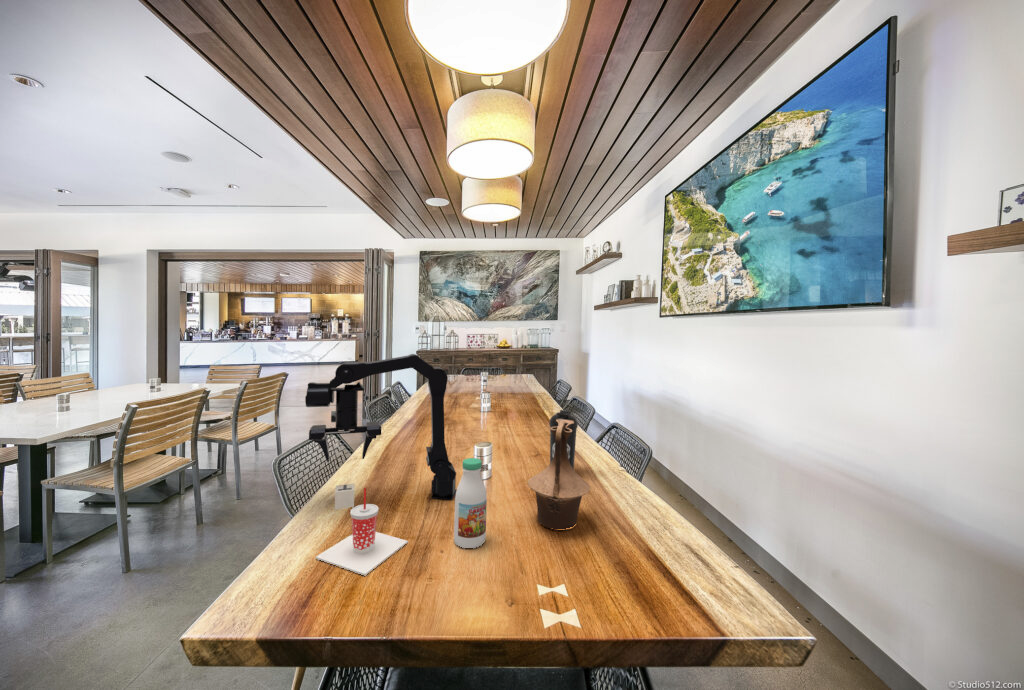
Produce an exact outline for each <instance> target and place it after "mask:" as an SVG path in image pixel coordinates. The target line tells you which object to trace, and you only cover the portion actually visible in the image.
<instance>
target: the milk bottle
mask: <svg viewBox="0 0 1024 690" xmlns="http://www.w3.org/2000/svg"><path fill="white" fill-rule="evenodd" d="M461 470H462V476H461V479H460V481H459V483H458V485H457V488H456V489H455V490H456V494H455V495H454V519H453V520H454V521H453V522H454V523H453V542H454V544H455V545H456V546H457V545H458V546H457V547H459V546H460V547H459V548H461V547H462V548H461V549H465V548H473V549H477V548H480V547H481V546H483V545H482V544H483V543H484V544H485V542H486V538H487V537H486V535H487V534H486V533H487V505H488V504H487V502H488V501H487V500H488V499H487V498H488V497H487V489H486V486H485V483H484V480H483V479H482V474H481V471H482V460H481V459H479V458H478V457H469V458H465V459H463V460H462V469H461ZM479 546H480V547H479ZM476 547H477V548H476Z"/></svg>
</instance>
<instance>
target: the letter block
mask: <svg viewBox="0 0 1024 690" xmlns="http://www.w3.org/2000/svg"><path fill="white" fill-rule="evenodd" d="M334 491H335V492H334V511H337V510H344V509H349V507H352V508H354V507H355V483H348V484H339V485H335V490H334ZM343 508H344V509H343Z"/></svg>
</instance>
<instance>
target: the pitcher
mask: <svg viewBox="0 0 1024 690" xmlns="http://www.w3.org/2000/svg"><path fill="white" fill-rule="evenodd" d="M556 422H557V423H558V426H556V427H551V432H552V433H553V435H554V437H555V454H554V457H553V460H552V461H551V463H550V462H549V464H548V465H547V467H546V468H544V469H542V470H541V471H540V472H539V473H537V474H535V475H534V476H531V477H530V478H529V479H528V480H527V486H528V488H529V489H530V490H532V491H534V492H535V497H536V498H535V500H536V510H537V518H536V519H538V520H537V522H538V524H540V523H541V524H542V525H544V526H546V527H548V528H553V529H566V528H570V527H573V526H574V525H575V524H576V523H577V524H578V515H579V511H580V506H581V501H582V497H583V496H584V495H587V494H588V493H589V492H590V490H591V485H590V484H589V483H588V482H587V481H586V480H584V479H583V478H582V477H581V476H580V475H579V474H578V473H577V472H576V471H575V469H574V470H573V468H572V466H571V464H570V462H569V459H568V453H567V439H568V438H569V436H570V434H571V433H572V430H571V429H569V427H570V426H571V425H572V424H574V421H571V420H562V419H557V420H556ZM565 423H568V424H567V425H566V426H565ZM541 524H540V525H541ZM542 525H541V526H542ZM544 526H543V527H544ZM546 527H545V528H546ZM548 528H547V529H548Z"/></svg>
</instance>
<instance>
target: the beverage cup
mask: <svg viewBox="0 0 1024 690" xmlns="http://www.w3.org/2000/svg"><path fill="white" fill-rule="evenodd" d="M378 514H379V506H378V505H376V504H373V503H367V488H366V487H364V488H363V504H359V505H356V506H354V507H352V509H351V508H350V517H351V528H352V529H351V531H352V532H351V533H352V534H351V535H353V551H354V552H355V553H357V554H364V553H368V552H370V551H372V550H373V549H374V545H375V533H376V532H377V520H378Z"/></svg>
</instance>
